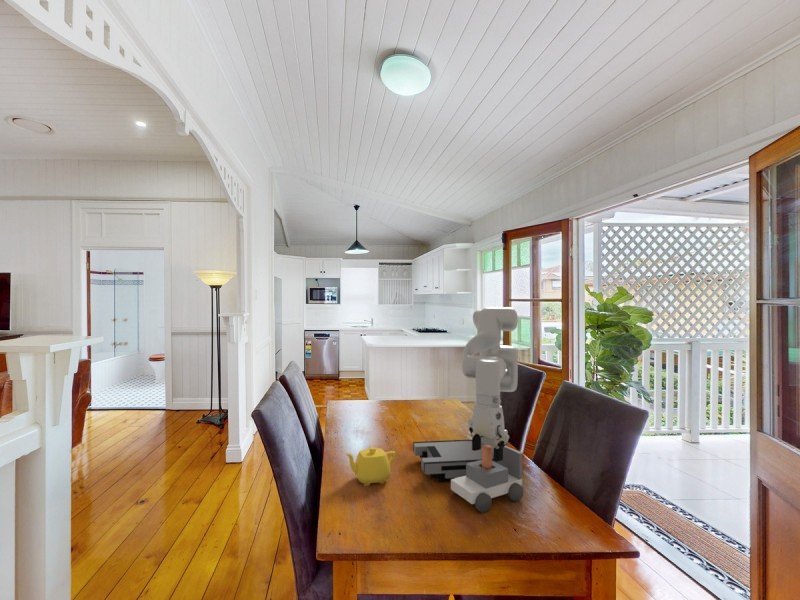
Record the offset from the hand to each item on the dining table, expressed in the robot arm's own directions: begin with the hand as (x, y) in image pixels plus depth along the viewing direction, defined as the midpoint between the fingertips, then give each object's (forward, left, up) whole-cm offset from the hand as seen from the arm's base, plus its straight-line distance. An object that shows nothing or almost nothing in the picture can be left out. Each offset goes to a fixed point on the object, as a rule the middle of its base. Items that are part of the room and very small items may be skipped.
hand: (486, 455), depth 117 cm
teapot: (+27, -27, -13) cm, 40 cm away
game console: (-6, -20, -14) cm, 25 cm away
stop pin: (0, 0, -8) cm, 8 cm away
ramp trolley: (0, 0, -13) cm, 13 cm away
